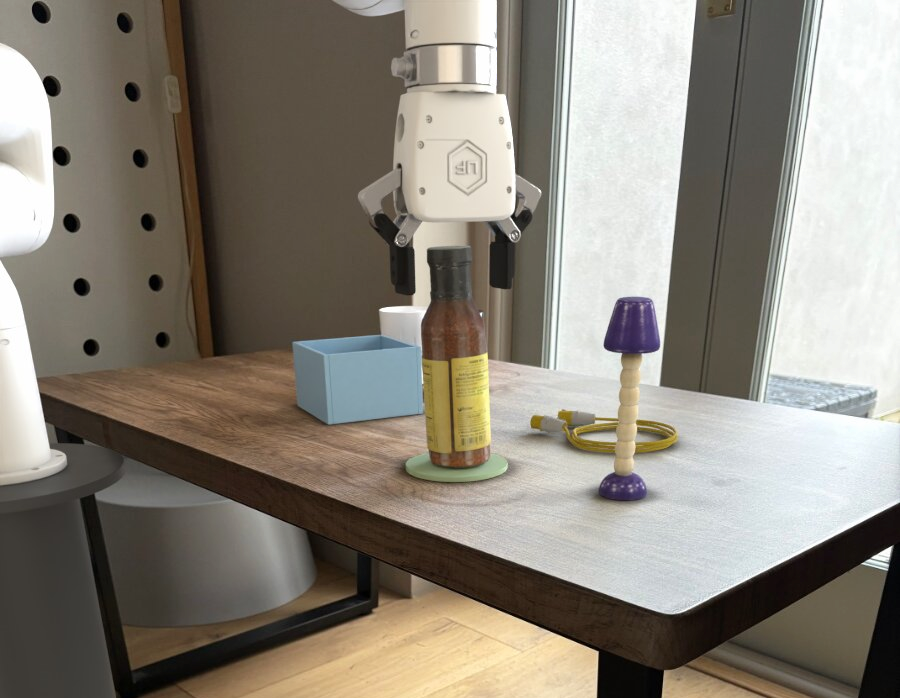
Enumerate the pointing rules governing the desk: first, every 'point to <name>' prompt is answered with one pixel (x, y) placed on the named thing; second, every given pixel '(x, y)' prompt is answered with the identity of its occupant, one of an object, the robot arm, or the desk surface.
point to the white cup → (403, 324)
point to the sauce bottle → (454, 364)
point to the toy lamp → (629, 388)
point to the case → (358, 378)
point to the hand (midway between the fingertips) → (453, 290)
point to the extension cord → (586, 418)
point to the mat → (428, 471)
